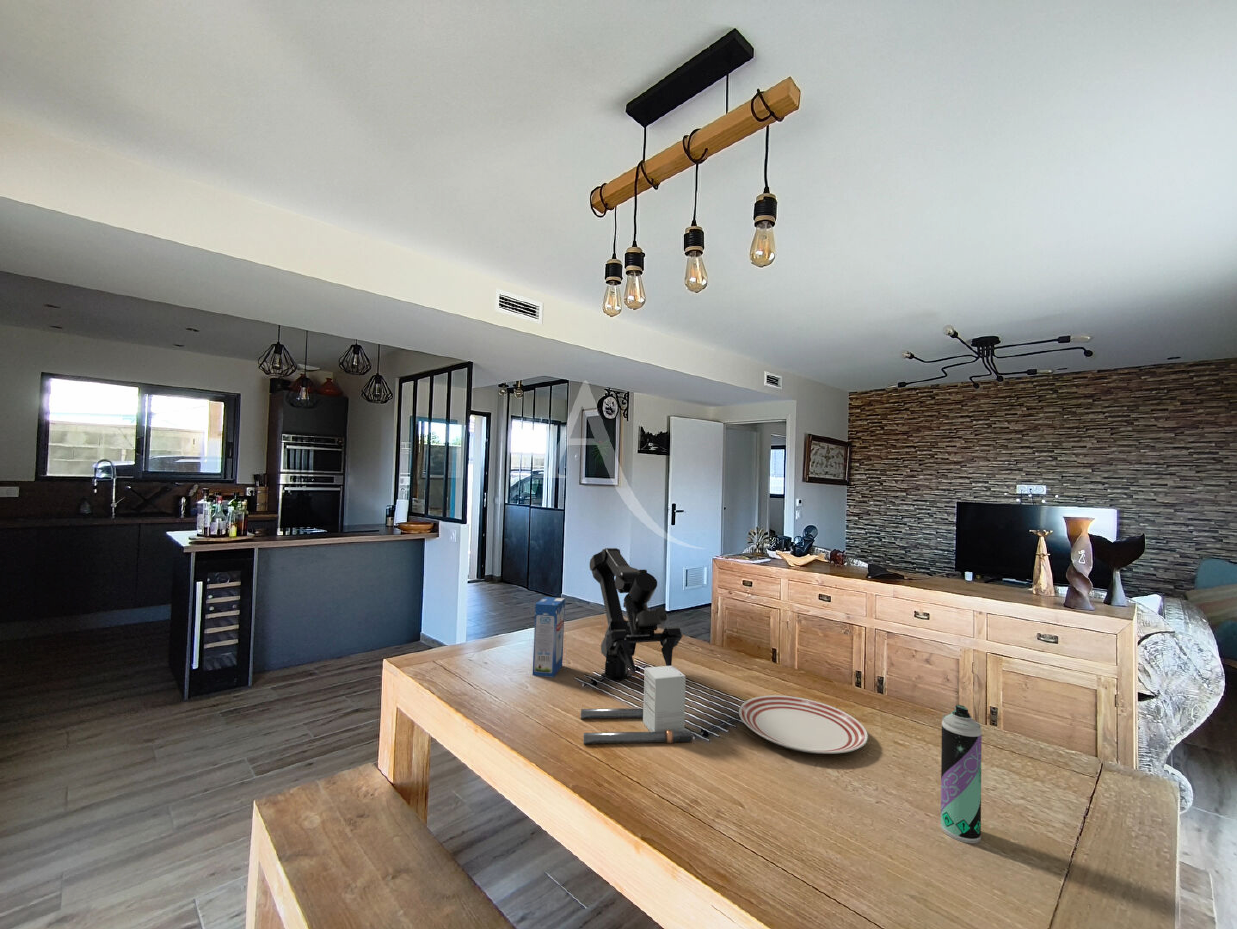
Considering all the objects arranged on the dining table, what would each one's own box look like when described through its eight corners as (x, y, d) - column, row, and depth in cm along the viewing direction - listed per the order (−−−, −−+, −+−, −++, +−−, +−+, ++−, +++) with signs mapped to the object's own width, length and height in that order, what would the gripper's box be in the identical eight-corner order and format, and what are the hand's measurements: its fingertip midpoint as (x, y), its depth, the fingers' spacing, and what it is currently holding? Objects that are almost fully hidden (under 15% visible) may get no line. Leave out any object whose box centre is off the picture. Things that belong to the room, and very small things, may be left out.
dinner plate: (884, 735, 120) (885, 720, 120) (839, 781, 100) (839, 763, 100) (772, 699, 139) (772, 686, 139) (715, 731, 119) (715, 716, 119)
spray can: (932, 821, 88) (934, 699, 89) (963, 821, 89) (964, 699, 90) (956, 843, 83) (957, 713, 84) (989, 843, 83) (990, 713, 84)
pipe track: (583, 747, 110) (584, 734, 110) (580, 717, 124) (581, 705, 124) (692, 745, 112) (692, 732, 112) (676, 715, 127) (676, 704, 127)
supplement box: (671, 719, 124) (673, 664, 124) (684, 733, 117) (686, 675, 117) (641, 722, 121) (643, 666, 122) (653, 737, 114) (655, 678, 115)
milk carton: (542, 663, 159) (545, 596, 160) (562, 665, 158) (565, 598, 159) (532, 675, 149) (535, 603, 150) (553, 677, 148) (556, 605, 149)
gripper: (611, 597, 129) (624, 657, 118) (680, 595, 135) (699, 652, 124) (600, 621, 136) (612, 680, 125) (667, 618, 142) (683, 674, 131)
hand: (652, 671), depth 126 cm, fingers open, 9 cm apart
